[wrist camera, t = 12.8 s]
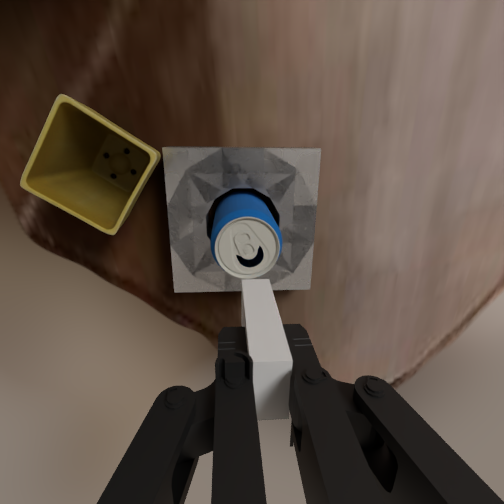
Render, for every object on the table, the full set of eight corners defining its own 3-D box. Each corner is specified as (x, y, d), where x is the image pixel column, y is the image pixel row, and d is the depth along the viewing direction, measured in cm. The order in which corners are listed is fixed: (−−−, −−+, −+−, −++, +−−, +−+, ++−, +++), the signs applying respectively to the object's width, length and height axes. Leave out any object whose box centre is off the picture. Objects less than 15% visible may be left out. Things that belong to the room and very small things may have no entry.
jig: (179, 278, 41) (174, 292, 37) (169, 146, 35) (162, 147, 31) (302, 275, 42) (310, 289, 38) (311, 147, 36) (321, 148, 32)
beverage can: (227, 249, 40) (227, 293, 28) (206, 201, 37) (196, 229, 26) (275, 230, 39) (294, 267, 28) (257, 181, 37) (270, 200, 26)
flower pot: (101, 102, 33) (58, 90, 25) (175, 150, 35) (159, 154, 27) (67, 174, 35) (16, 185, 27) (139, 215, 38) (113, 238, 29)
